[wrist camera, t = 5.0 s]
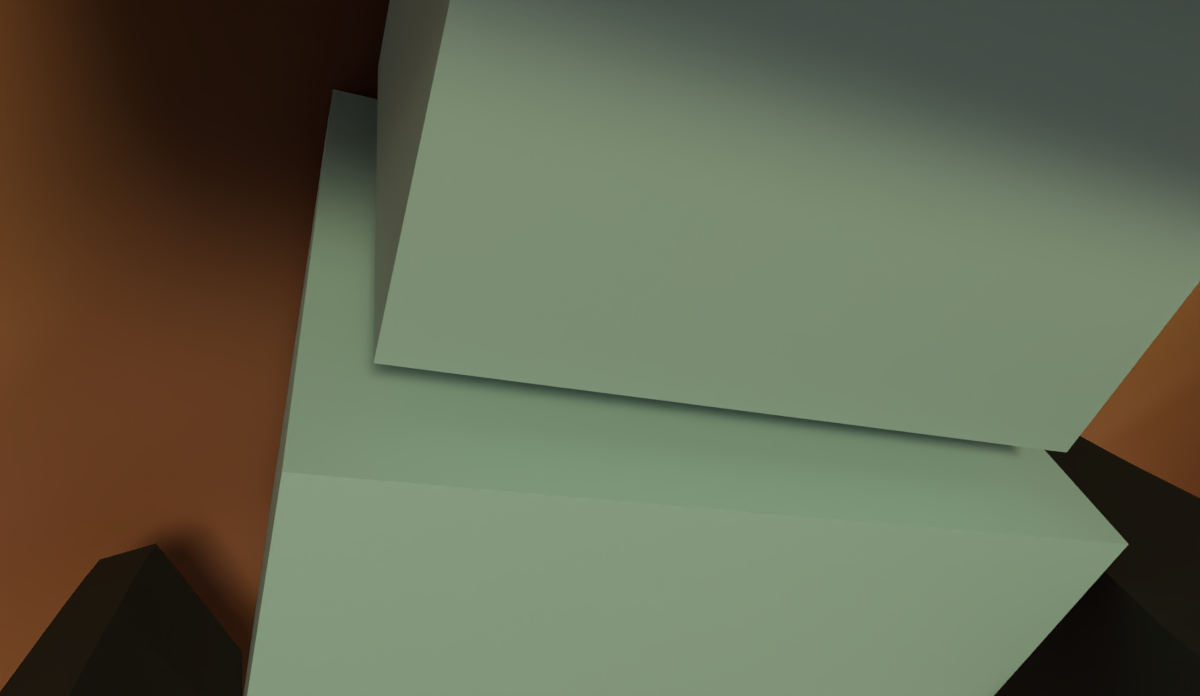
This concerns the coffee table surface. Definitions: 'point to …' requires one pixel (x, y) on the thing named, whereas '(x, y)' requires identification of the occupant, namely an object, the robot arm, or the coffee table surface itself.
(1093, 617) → the robot arm
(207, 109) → the coffee table surface
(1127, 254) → the end cover
